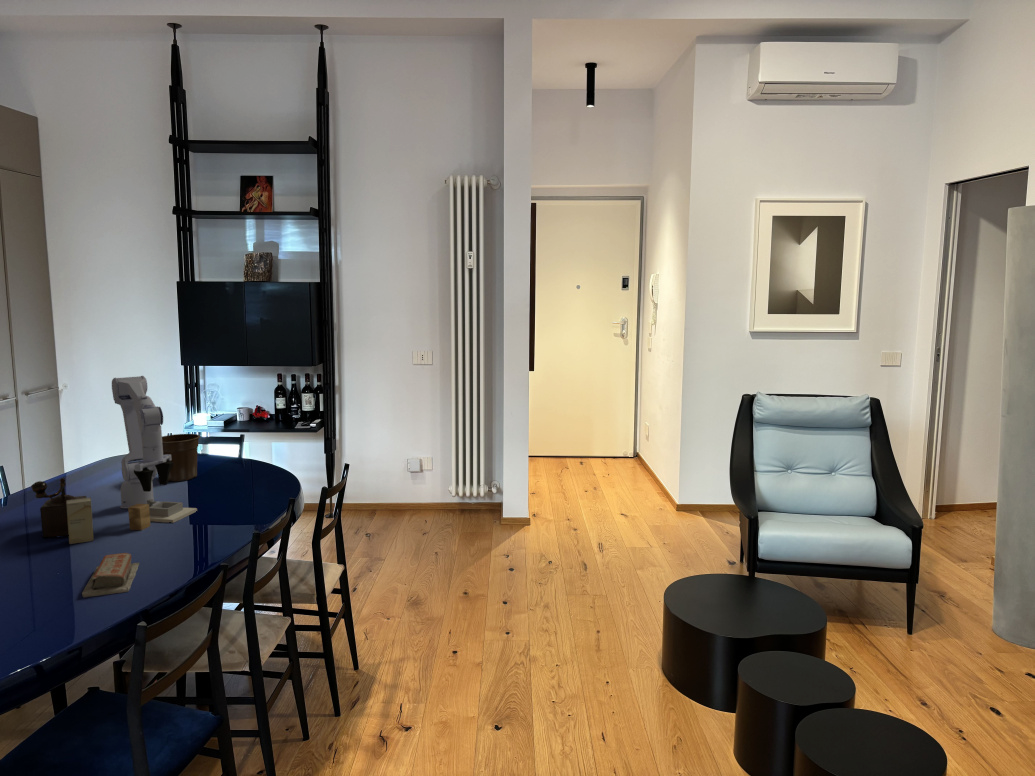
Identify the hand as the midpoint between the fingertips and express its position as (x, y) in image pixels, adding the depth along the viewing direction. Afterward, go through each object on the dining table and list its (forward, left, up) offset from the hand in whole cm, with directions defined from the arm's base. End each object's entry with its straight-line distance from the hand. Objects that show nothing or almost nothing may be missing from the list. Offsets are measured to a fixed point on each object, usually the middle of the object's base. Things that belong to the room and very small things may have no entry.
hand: (155, 487), depth 225 cm
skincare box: (-9, -21, -11) cm, 25 cm away
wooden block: (0, -8, -10) cm, 13 cm away
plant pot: (-26, +47, -11) cm, 55 cm away
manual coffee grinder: (-19, -17, -11) cm, 28 cm away
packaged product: (+21, -45, -11) cm, 51 cm away
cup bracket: (0, +4, -10) cm, 11 cm away
